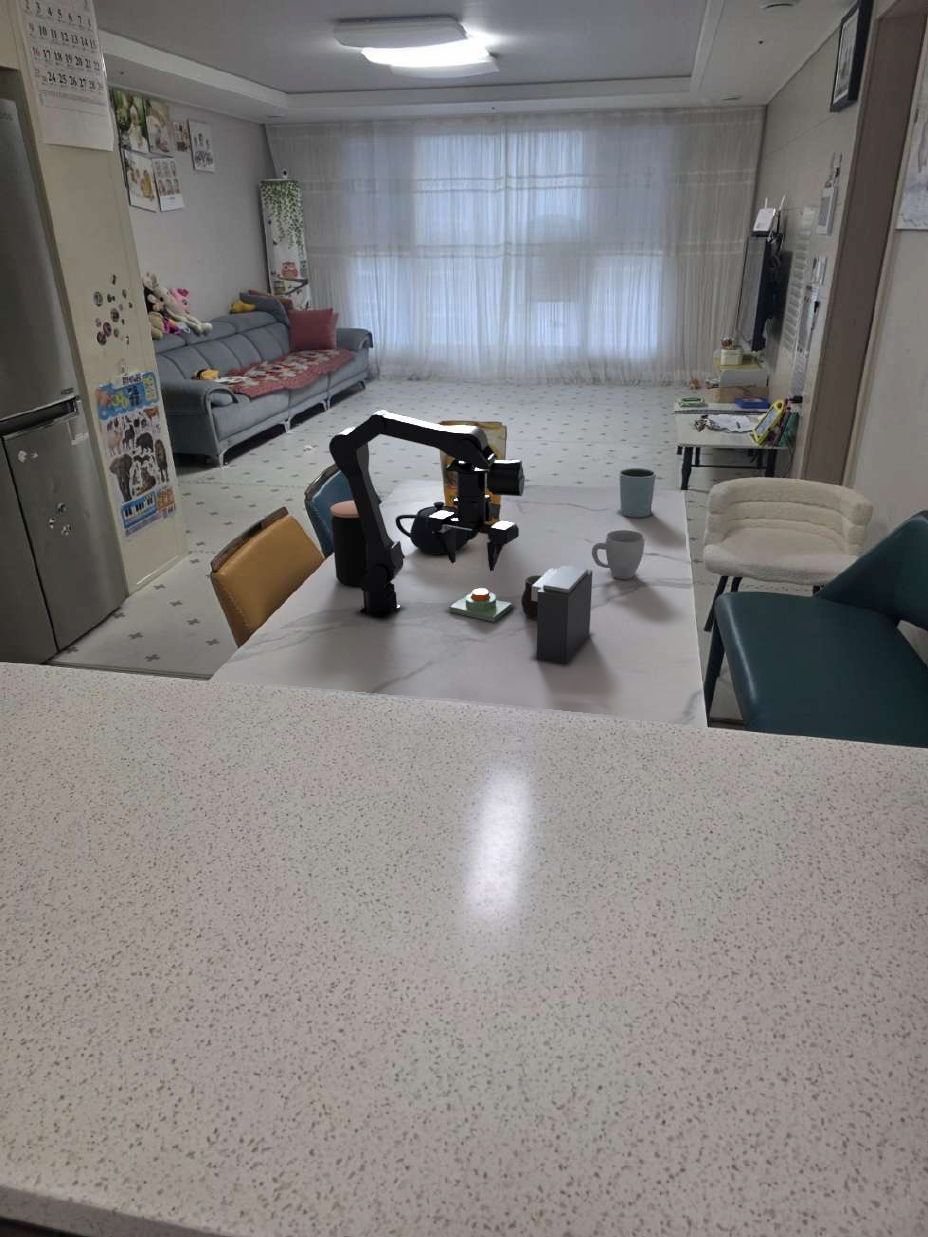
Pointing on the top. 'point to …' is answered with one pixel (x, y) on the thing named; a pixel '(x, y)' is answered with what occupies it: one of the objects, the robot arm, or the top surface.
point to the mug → (621, 552)
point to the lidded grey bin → (562, 612)
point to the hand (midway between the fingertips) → (472, 566)
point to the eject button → (480, 595)
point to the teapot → (424, 537)
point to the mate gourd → (529, 597)
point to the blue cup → (636, 491)
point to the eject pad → (481, 607)
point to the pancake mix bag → (498, 444)
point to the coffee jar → (348, 544)
